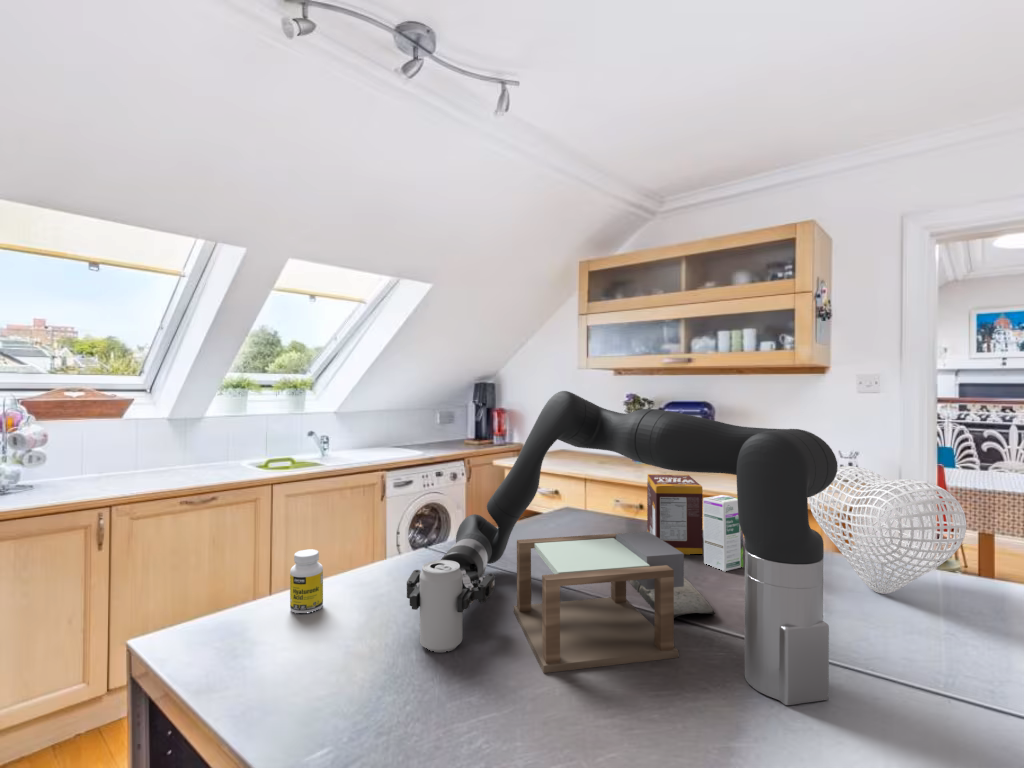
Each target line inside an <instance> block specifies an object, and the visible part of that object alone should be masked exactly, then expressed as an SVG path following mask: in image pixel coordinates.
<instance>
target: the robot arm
mask: <svg viewBox="0 0 1024 768" xmlns="http://www.w3.org/2000/svg"><path fill="white" fill-rule="evenodd" d="M557 441H560V442H563V443H565V444H567V445H570V446H573V447H575V448H581V449H590V450H591V449H593V450H601V451H609V452H613V453H616V454H618V455H621V456H624V457H626V458H628V459H630V460H633V461H636V462H639V463H642V464H645V465H649V466H651V467H652V466H653V467H655V468H656V467H657V468H661V469H664V470H669V471H675V472H676V471H677V472H687V473H702V474H703V473H704V474H705V473H706V474H726V475H732V476H733V475H734V476H736V493H737V494H736V496H737V497H736V498H737V499H738V518H739V524H740V527H741V530H742V532H743V539H744V679H745V681H746V682H747V684H748V685H750V686H751V687H752V688H753V689H754V690H756V691H757V692H759V693H760V694H763V695H765V696H767V697H770V698H773V699H775V700H778V701H780V702H781V703H782V704H783V705H785V706H791V705H799V704H806V703H814V702H820V701H827V700H829V698H830V697H829V695H830V694H829V691H830V690H829V687H830V686H829V683H830V682H829V681H830V674H829V673H830V671H829V670H830V669H829V667H830V664H829V663H830V626H829V624H828V623H827V622H825V621H824V557H825V556H824V553H825V552H824V550H825V549H824V539H823V537H822V535H821V534H820V533H819V532H818V531H816V530H815V529H813V528H811V526H810V522H809V521H810V520H809V504H808V503H809V502H808V501H809V497H811V496H814V495H815V496H816V494H818V493H820V492H822V491H823V490H826V488H827V487H828V486H829V485H830V484H831V485H832V484H833V483H832V482H833V480H834V478H835V476H836V474H837V472H838V471H837V467H839V466H838V460H837V457H836V454H835V453H834V451H833V448H831V447H830V445H829V444H828V443H827V442H826V441H825V440H824V439H822V438H821V437H819V436H818V435H816V434H815V433H812V432H811V431H807V430H806V429H805V430H804V429H799V428H766V427H753V426H741V425H736V424H735V425H734V424H729V423H725V422H723V421H717V420H715V419H709V418H705V417H701V416H696V415H693V414H691V415H690V414H686V413H682V412H675V411H669V410H664V409H658V408H657V409H656V408H641V409H637V410H634V411H632V412H629V413H628V412H627V413H626V412H625V413H624V412H623V413H622V412H617V411H614V410H611V409H606V408H604V407H601V406H599V405H597V404H595V403H594V402H591V401H589V400H588V399H585V398H583V397H581V396H579V395H577V394H575V393H573V392H571V391H567V390H561V391H558V392H556V393H555V394H553V395H552V396H551V397H550V398H549V399H548V400H547V401H546V403H545V404H544V406H543V407H542V409H541V411H540V413H539V414H538V417H537V419H536V421H535V423H534V424H533V427H532V429H531V430H530V433H529V434H528V436H527V437H526V440H525V442H524V444H523V446H522V448H521V450H520V452H519V455H518V456H517V458H516V460H515V462H514V464H513V466H512V467H511V469H510V471H508V474H507V475H506V476H505V477H504V479H503V481H502V482H501V483H500V485H499V486H498V487H497V488H496V490H495V491H494V492H493V494H492V496H491V497H490V499H488V502H487V503H486V510H487V513H488V514H489V515H490V517H491V518H492V519H493V520H494V522H495V523H496V525H497V527H496V526H495V525H493V524H492V523H491V522H490V521H488V520H487V519H486V518H485V517H484V516H482V515H479V514H476V513H475V514H473V513H472V514H470V515H468V516H467V517H465V518H464V519H463V520H462V521H461V523H460V525H459V527H458V529H457V532H456V534H455V535H456V536H455V543H454V544H453V545H451V546H450V548H449V549H448V550H447V551H446V553H445V554H444V555H443V556H442V558H440V560H450V561H455V562H457V563H459V565H460V568H459V569H460V570H461V572H462V593H461V594H460V595H459V596H458V599H457V612H461V613H462V614H463V613H464V611H465V610H468V609H469V607H470V605H471V604H473V603H474V601H477V602H478V603H480V604H483V603H486V601H487V600H488V599H489V598H490V597H491V595H492V594H493V592H494V591H495V583H496V582H495V580H496V579H495V573H491V572H490V573H487V574H486V575H484V574H485V572H486V569H487V565H488V564H489V565H490V564H494V563H497V562H498V561H499V560H500V559H501V558H502V556H503V555H504V553H505V551H506V548H507V546H508V544H509V543H508V542H509V540H510V537H511V534H512V532H513V530H514V527H515V526H516V524H517V522H518V521H519V519H520V518H521V517H522V515H523V514H524V513H525V511H526V510H527V509H528V507H529V506H530V505H531V503H532V502H533V500H534V498H535V497H536V495H537V492H538V489H539V486H540V479H541V471H542V465H543V461H544V459H545V456H546V454H547V452H548V451H549V450H550V448H551V447H552V446H553V445H554V444H555V443H556V442H557ZM820 494H821V493H820ZM421 572H422V571H421V570H420V569H415V570H413V571H412V572H411V574H410V575H409V577H408V579H407V580H406V598H407V599H409V607H411V610H416V611H418V609H420V573H421Z"/></svg>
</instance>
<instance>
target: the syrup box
mask: <svg viewBox="0 0 1024 768" xmlns="http://www.w3.org/2000/svg"><path fill="white" fill-rule="evenodd" d="M703 563H704V565H706V564H707V565H706V566H708V565H710V566H712V567H711V568H713V567H714V568H713V569H715V568H717V569H716V570H718V569H720V570H719V571H721V570H722V572H724V573H726V571H727V572H728V571H732V570H737V569H741V567H742V568H744V535H743V532H742V530H741V527H740V524H739V518H738V499H737V497H736V496H732V495H724V494H720V495H715V496H709V497H703ZM710 566H709V567H710Z"/></svg>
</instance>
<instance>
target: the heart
mask: <svg viewBox="0 0 1024 768" xmlns="http://www.w3.org/2000/svg"><path fill="white" fill-rule="evenodd" d="M839 476H841V479H838V478H839ZM844 480H848V481H847V482H846V481H844ZM857 480H858V481H857ZM856 481H857V482H856ZM863 484H864V485H863ZM842 485H843V486H844V487H843V488H842ZM830 488H831V489H830ZM857 488H859V489H857ZM849 489H850V490H849ZM848 490H849V491H848ZM928 492H931V493H928ZM830 493H831V494H830ZM836 493H837V494H838V497H835V494H836ZM859 493H860V494H859ZM920 493H922V494H920ZM842 495H845V497H844V499H843V500H841V497H842ZM877 495H878V496H877ZM884 497H885V499H884ZM923 497H926V499H924V498H923ZM932 497H934V498H932ZM848 498H851V499H850V501H848ZM916 498H918V500H916ZM808 501H809V502H808V503H809V509H810V511H811V514H812V516H813V518H814V520H815V521H816V523H817V525H819V527H820V528H821V530H822V531H823V532H824V534H825V535H826V536H827V538H829V539H830V541H832V543H833V544H834V545H835V547H836V548H837V549H838V550H839V552H840V553H841V554H842V555H843V557H844V558H845V560H846V561H847V562H848V563H849V564H850V567H851V568H853V570H854V571H855V573H856V574H857V575H858V577H859V578H860V579H861V581H863V583H865V585H866V586H867V587H868V588H869V589H871V590H872V591H874V593H875V592H876V593H877V594H882V595H883V594H885V595H886V594H887V595H888V594H891V593H894V592H896V591H899V590H900V589H902V588H903V587H905V586H906V585H908V584H910V583H912V582H913V581H915V580H917V579H918V578H920V577H922V576H924V575H925V574H927V573H929V572H931V571H933V570H934V569H936V568H938V567H939V566H941V565H942V564H944V563H945V562H946V561H948V560H949V559H950V558H952V556H954V554H955V553H956V552H957V551H958V550H959V548H960V546H961V545H962V543H963V541H964V539H965V537H966V533H967V527H968V526H967V519H966V514H965V511H964V509H963V507H962V505H961V503H960V502H959V501H958V499H956V497H955V496H954V495H952V493H950V492H949V491H948V490H946V489H944V488H942V487H940V486H939V485H937V484H935V483H932V482H929V481H928V482H927V481H924V480H920V479H912V478H911V479H906V478H905V479H904V478H903V479H902V478H901V479H893V480H891V479H890V480H887V479H886V478H885V477H883V475H880V474H878V473H877V472H875V471H873V470H870V469H868V468H863V467H859V466H852V465H843V466H838V467H837V474H836V476H835V478H834V480H833V482H832V483H831V484H830V485H829V486H828V487H827V488H826V489H825V490H823V491H822V492H820V493H818V494H816V495H814V496H811V497H808ZM866 502H867V503H866ZM890 502H891V503H890ZM950 502H951V503H950ZM894 503H895V506H894ZM820 504H821V507H820ZM838 505H839V508H840V509H839V508H838ZM845 505H846V510H844V507H845ZM876 505H877V506H876ZM919 505H921V506H922V508H923V510H921V509H920V508H919ZM825 506H826V507H827V509H825ZM908 506H909V508H908ZM913 506H914V507H915V509H913ZM929 506H930V507H929ZM851 507H852V510H850V509H851ZM887 508H888V509H887ZM831 509H833V510H831ZM898 509H899V510H898ZM930 509H931V510H930ZM874 510H875V511H874ZM903 510H904V513H903ZM892 512H894V514H893V516H892V515H891V514H892ZM914 513H915V514H914ZM838 514H839V515H838ZM944 515H945V519H944ZM884 516H885V517H884ZM936 516H937V518H938V520H936V519H937V518H936ZM854 517H855V519H854ZM923 517H925V518H924V519H925V520H924V519H923ZM849 518H850V519H849ZM873 519H875V521H874V522H873ZM901 519H903V520H904V521H903V522H902V521H901ZM882 520H884V521H882ZM890 520H891V521H890ZM907 520H909V523H910V525H907V522H908V521H907ZM944 520H945V521H944ZM863 522H864V524H863ZM894 522H896V524H895V527H894V526H893V524H894ZM914 522H917V526H915V527H914ZM837 523H838V524H839V525H838V524H837ZM843 524H845V528H844V526H843ZM868 524H869V525H868ZM876 524H877V525H876ZM929 524H930V526H929ZM937 524H939V525H937ZM945 524H946V525H945ZM892 526H893V527H892ZM869 529H871V532H870V530H869ZM945 529H946V530H947V531H945ZM952 529H953V531H952ZM883 530H884V531H883ZM938 530H939V531H938ZM860 531H861V532H860ZM905 531H908V533H906V532H905ZM914 531H917V533H916V536H915V535H914V534H915V533H914ZM865 532H866V533H865ZM843 533H844V534H843ZM876 533H879V535H877V534H876ZM887 533H888V535H887ZM896 533H899V535H898V536H895V535H896ZM929 533H930V534H931V535H930V538H929V537H928V536H929ZM850 534H851V535H852V536H850ZM920 534H921V535H920ZM937 534H939V538H936V537H937ZM944 535H946V538H944ZM951 535H952V536H953V538H951ZM957 535H958V536H957ZM904 536H906V537H904ZM920 536H921V537H920ZM868 539H869V541H868ZM886 539H888V540H887V541H886ZM846 540H847V541H848V543H847V542H846ZM881 540H882V541H883V542H881ZM893 541H896V543H895V542H893ZM853 542H854V544H853ZM913 542H914V544H913ZM927 543H929V544H928V547H927ZM902 544H904V545H902ZM918 544H919V546H918ZM935 544H936V548H935ZM950 544H951V545H950ZM943 545H944V547H943V549H942V546H943ZM949 545H950V547H949ZM879 548H881V549H882V550H880V549H879ZM934 548H935V549H934ZM874 549H875V550H874ZM888 549H889V550H891V551H888ZM900 551H901V552H900ZM910 551H911V552H910ZM865 555H866V556H865ZM872 556H874V557H875V558H872ZM887 556H889V557H890V559H889V558H888V557H887ZM880 557H882V559H881V558H880ZM913 560H915V561H914V562H913ZM922 562H923V563H922ZM931 562H932V563H931ZM874 563H875V564H874ZM900 563H902V564H900ZM920 563H921V564H920ZM930 563H931V564H930ZM875 565H876V566H875ZM879 565H881V566H879ZM892 565H893V566H894V568H893V567H892ZM907 566H910V567H907ZM914 568H916V569H914ZM880 572H881V574H880ZM884 574H886V575H884Z"/></svg>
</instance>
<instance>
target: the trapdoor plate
mask: <svg viewBox="0 0 1024 768" xmlns="http://www.w3.org/2000/svg"><path fill="white" fill-rule="evenodd" d="M620 533H621V532H620ZM534 551H535V552H536V553H537V554H538V556H539V557H540V558H541V559H542V561H543V562H544V563H545V565H546V566H547V567H548V568H549V570H550V571H551V572H552V574H562V573H575V572H588V571H600V570H613V569H626V568H639V567H651V566H664V565H667V566H669V567H670V568H672V569H673V570H674V587H684V576H685V575H684V574H685V567H684V565H685V563H684V562H685V554H684V553H682V552H680V551H679V550H677V549H676V548H674V547H672V546H671V545H669V544H668V543H666V542H664V541H663V540H661V539H660V538H658V537H656V536H655V535H653V534H652V533H650V532H647V531H640V532H636V531H635V532H623V533H621V534H616V539H614V538H606V539H591V540H576V541H561V542H546V543H535V548H534ZM636 581H637V582H638V583H640V584H641V585H642V586H643V587H644V588H645V589H647V590H650V589H654V582H655V578H654V579H642V580H636Z"/></svg>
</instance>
